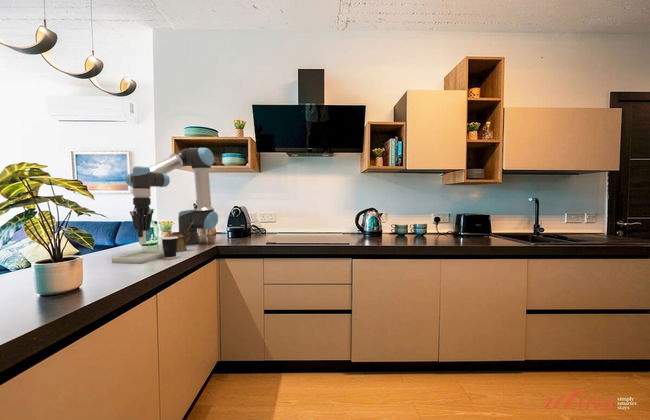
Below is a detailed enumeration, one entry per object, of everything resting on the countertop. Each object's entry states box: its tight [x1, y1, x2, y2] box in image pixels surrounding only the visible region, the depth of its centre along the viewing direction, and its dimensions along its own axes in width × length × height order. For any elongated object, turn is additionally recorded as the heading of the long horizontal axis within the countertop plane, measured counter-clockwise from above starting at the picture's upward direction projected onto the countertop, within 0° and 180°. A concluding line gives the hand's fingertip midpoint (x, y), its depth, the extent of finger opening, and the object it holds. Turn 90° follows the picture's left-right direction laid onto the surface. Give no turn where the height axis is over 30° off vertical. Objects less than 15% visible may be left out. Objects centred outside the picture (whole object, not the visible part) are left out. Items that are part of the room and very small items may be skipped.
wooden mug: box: [170, 221, 194, 253], centre depth 165 cm, size 9×14×18 cm, turn 112°
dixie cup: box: [160, 236, 178, 260], centre depth 145 cm, size 8×8×11 cm
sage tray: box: [111, 249, 165, 265], centre depth 143 cm, size 20×16×2 cm
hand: (142, 243), depth 143 cm, fingers closed
